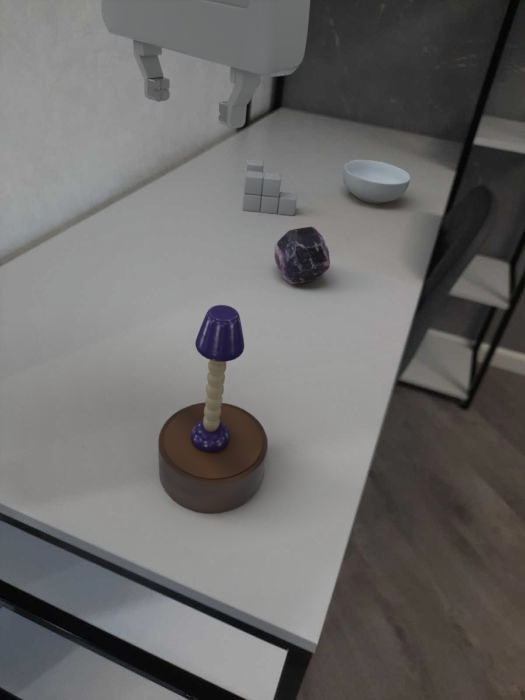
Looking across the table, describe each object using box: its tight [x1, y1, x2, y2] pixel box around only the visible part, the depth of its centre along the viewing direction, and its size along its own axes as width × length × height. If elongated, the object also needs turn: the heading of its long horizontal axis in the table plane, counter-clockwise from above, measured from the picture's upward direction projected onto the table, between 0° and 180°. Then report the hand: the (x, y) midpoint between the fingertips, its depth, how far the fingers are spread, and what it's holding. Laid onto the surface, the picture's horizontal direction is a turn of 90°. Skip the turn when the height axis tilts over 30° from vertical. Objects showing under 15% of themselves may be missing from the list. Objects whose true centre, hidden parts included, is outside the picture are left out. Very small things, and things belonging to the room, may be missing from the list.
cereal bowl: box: [342, 159, 411, 204], centre depth 132 cm, size 17×17×7 cm
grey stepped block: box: [242, 158, 297, 216], centre depth 122 cm, size 12×12×8 cm
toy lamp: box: [191, 304, 245, 452], centre depth 52 cm, size 5×5×17 cm
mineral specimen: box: [273, 226, 331, 285], centre depth 95 cm, size 10×10×10 cm
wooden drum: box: [157, 401, 269, 514], centre depth 59 cm, size 12×12×5 cm
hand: (192, 112), depth 46 cm, fingers open, 8 cm apart
